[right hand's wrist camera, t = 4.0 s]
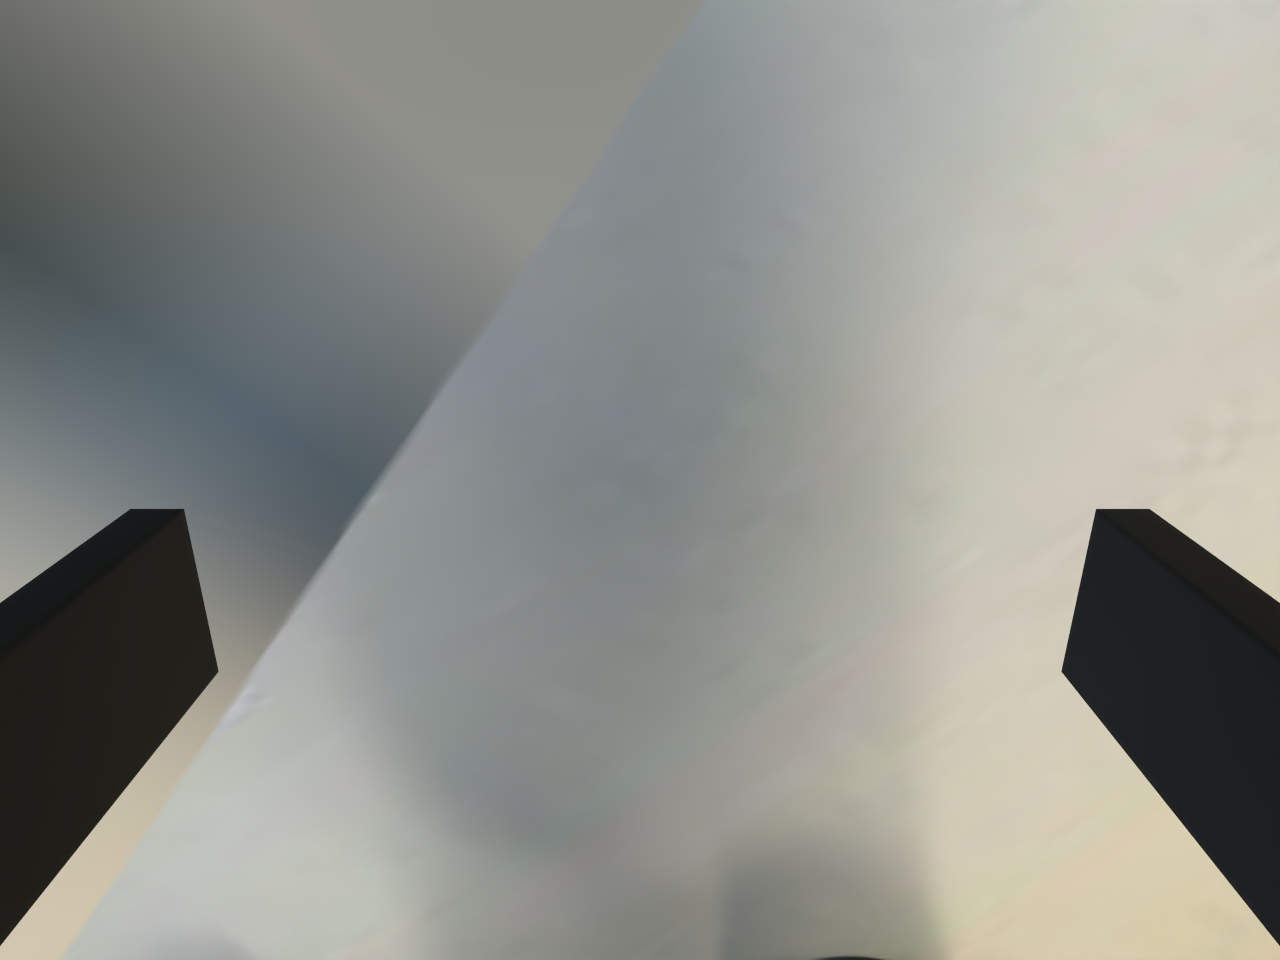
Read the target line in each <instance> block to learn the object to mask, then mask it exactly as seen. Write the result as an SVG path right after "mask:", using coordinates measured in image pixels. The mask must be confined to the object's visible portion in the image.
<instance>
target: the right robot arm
mask: <svg viewBox="0 0 1280 960" xmlns="http://www.w3.org/2000/svg"><path fill="white" fill-rule="evenodd" d="M217 673H218V667H217V662H216V658H215V653H214V648H213V643H212V639H211V634H210V629H209V625H208V620H207V615H206V611H205V606H204V601H203V597H202V592H201V587H200V583H199V578H198V573H197V568H196V564H195V559H194V554H193V550H192V545H191V540H190V536H189V531H188V526H187V522H186V517H185V512H184V509H130V510H129V511H127V512H126V513H124V514H123V515H122V516H120V517H119V518H118V519H116V520H115V521H113V522H112V523H111V524H109V525H108V526H106V527H105V528H104V529H102V530H101V531H99V532H98V533H97V534H95V535H94V536H93V537H91V538H90V539H88V540H87V541H86V542H84V543H83V544H81V545H80V546H79V547H77V548H76V549H75V550H73V551H72V552H70V553H69V554H68V555H66V556H65V557H63V558H62V559H61V560H59V561H58V562H57V563H55V564H54V565H52V566H51V567H50V568H48V569H47V570H45V571H44V572H43V573H41V574H40V575H38V576H37V577H36V578H34V579H33V580H32V581H30V582H29V583H27V584H26V585H25V586H23V587H22V588H20V589H19V590H18V591H16V592H15V593H13V594H12V595H11V596H9V597H8V598H6V599H5V600H4V601H2V602H1V603H0V945H1V944H2V943H3V942H4V940H5V939H6V938H7V937H8V935H9V934H10V933H11V932H12V930H13V929H14V928H15V927H16V925H17V924H18V923H19V922H20V920H21V919H22V918H23V916H24V915H25V914H26V913H27V911H28V910H29V909H30V908H31V906H32V905H33V904H34V903H35V901H36V900H37V899H38V898H39V896H40V895H41V894H42V893H43V891H44V890H45V889H46V888H47V886H48V885H49V884H50V883H51V881H52V880H53V879H54V878H55V876H56V875H57V874H58V873H59V871H60V870H61V869H62V868H63V866H64V865H65V864H66V862H67V861H68V860H69V859H70V857H71V856H72V855H73V854H74V852H75V851H76V850H77V849H78V847H79V846H80V845H81V844H82V842H83V841H84V840H85V839H86V837H87V836H88V835H89V834H90V832H91V831H92V830H93V829H94V827H95V826H96V825H97V824H98V822H99V821H100V820H101V819H102V817H103V816H104V815H105V814H106V812H107V811H108V810H109V809H110V807H111V806H112V805H113V803H114V802H115V801H116V800H117V798H118V797H119V796H120V795H121V793H122V792H123V791H124V790H125V788H126V787H127V786H128V785H129V783H130V782H131V781H132V780H133V778H134V777H135V776H136V775H137V773H138V772H139V771H140V769H141V768H142V767H143V766H144V765H145V763H146V762H147V761H148V759H149V758H150V757H151V756H152V754H153V753H154V752H155V751H156V749H157V748H158V747H159V746H160V744H161V743H162V742H163V741H164V739H165V738H166V737H167V736H168V734H169V733H170V732H171V731H172V729H173V728H174V727H175V726H176V724H177V723H178V722H179V721H180V719H181V718H182V717H183V715H184V714H185V713H186V712H187V710H188V709H189V708H190V707H191V705H192V704H193V703H194V702H195V700H196V699H197V698H198V697H199V695H200V694H201V693H202V692H203V690H204V689H205V688H206V687H207V685H208V684H209V683H210V682H211V680H212V679H213V678H214V677H215V675H216V674H217ZM1062 673H1063V674H1064V675H1065V677H1066V678H1067V679H1068V680H1069V682H1070V683H1071V684H1072V685H1073V687H1074V688H1075V689H1076V690H1077V692H1078V693H1079V694H1080V695H1081V697H1082V698H1083V699H1084V700H1085V702H1086V703H1087V704H1088V705H1089V707H1090V708H1091V709H1092V711H1093V712H1094V713H1095V714H1096V716H1097V717H1098V718H1099V719H1100V721H1101V722H1102V723H1103V724H1104V726H1105V727H1106V728H1107V729H1108V731H1109V732H1110V733H1111V734H1112V736H1113V737H1114V738H1115V739H1116V741H1117V742H1118V743H1119V744H1120V746H1121V747H1122V748H1123V749H1124V751H1125V752H1126V753H1127V754H1128V756H1129V757H1130V758H1131V760H1132V761H1133V762H1134V763H1135V765H1136V766H1137V767H1138V768H1139V770H1140V771H1141V772H1142V773H1143V775H1144V776H1145V777H1146V778H1147V780H1148V781H1149V782H1150V783H1151V785H1152V786H1153V787H1154V788H1155V790H1156V791H1157V792H1158V793H1159V795H1160V796H1161V797H1162V798H1163V800H1164V801H1165V802H1166V803H1167V805H1168V806H1169V807H1170V809H1171V810H1172V811H1173V812H1174V814H1175V815H1176V816H1177V817H1178V819H1179V820H1180V821H1181V822H1182V824H1183V825H1184V826H1185V827H1186V829H1187V830H1188V831H1189V832H1190V834H1191V835H1192V836H1193V837H1194V839H1195V840H1196V841H1197V842H1198V844H1199V845H1200V846H1201V847H1202V849H1203V850H1204V851H1205V852H1206V854H1207V855H1208V856H1209V857H1210V859H1211V860H1212V861H1213V863H1214V864H1215V865H1216V866H1217V868H1218V869H1219V870H1220V871H1221V873H1222V874H1223V875H1224V876H1225V878H1226V879H1227V880H1228V881H1229V883H1230V884H1231V885H1232V886H1233V888H1234V889H1235V890H1236V891H1237V893H1238V894H1239V895H1240V896H1241V898H1242V899H1243V900H1244V901H1245V903H1246V904H1247V905H1248V906H1249V908H1250V909H1251V910H1252V912H1253V913H1254V914H1255V915H1256V917H1257V918H1258V919H1259V920H1260V922H1261V923H1262V924H1263V925H1264V927H1265V928H1266V929H1267V930H1268V932H1269V933H1270V934H1271V935H1272V937H1273V938H1274V939H1275V940H1276V942H1277V943H1278V944H1279V945H1280V603H1279V602H1278V601H1276V600H1275V599H1274V598H1272V597H1271V596H1269V595H1268V594H1267V593H1265V592H1264V591H1262V590H1261V589H1260V588H1258V587H1257V586H1255V585H1254V584H1253V583H1251V582H1250V581H1249V580H1247V579H1246V578H1244V577H1243V576H1242V575H1240V574H1239V573H1237V572H1236V571H1235V570H1233V569H1232V568H1230V567H1229V566H1228V565H1226V564H1225V563H1224V562H1222V561H1221V560H1219V559H1218V558H1217V557H1215V556H1214V555H1212V554H1211V553H1210V552H1208V551H1207V550H1206V549H1204V548H1203V547H1201V546H1200V545H1199V544H1197V543H1196V542H1194V541H1193V540H1192V539H1190V538H1189V537H1187V536H1186V535H1185V534H1183V533H1182V532H1181V531H1179V530H1178V529H1176V528H1175V527H1174V526H1172V525H1171V524H1169V523H1168V522H1167V521H1165V520H1164V519H1162V518H1161V517H1160V516H1158V515H1157V514H1156V513H1154V512H1153V511H1151V510H1150V509H1096V512H1095V517H1094V522H1093V526H1092V531H1091V536H1090V540H1089V545H1088V550H1087V554H1086V559H1085V564H1084V568H1083V573H1082V578H1081V582H1080V587H1079V592H1078V597H1077V601H1076V606H1075V611H1074V615H1073V620H1072V625H1071V629H1070V634H1069V639H1068V643H1067V648H1066V653H1065V658H1064V662H1063V667H1062Z"/></svg>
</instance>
